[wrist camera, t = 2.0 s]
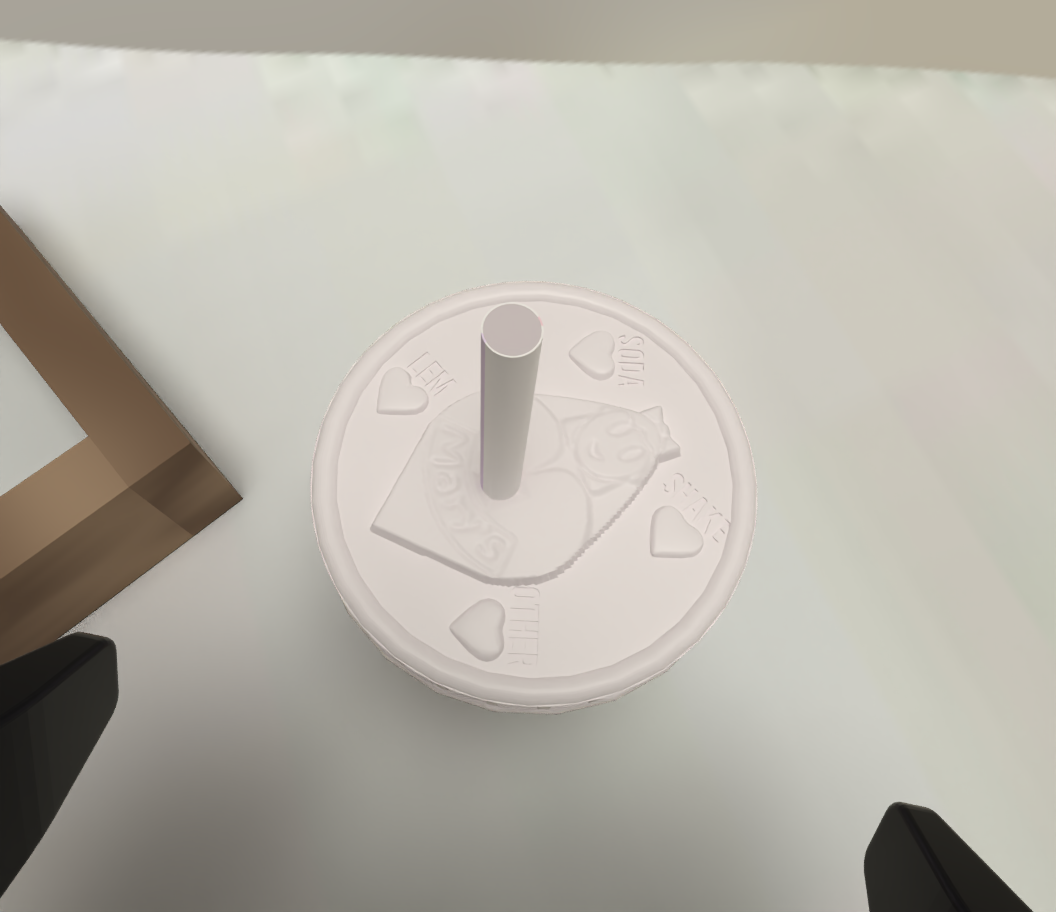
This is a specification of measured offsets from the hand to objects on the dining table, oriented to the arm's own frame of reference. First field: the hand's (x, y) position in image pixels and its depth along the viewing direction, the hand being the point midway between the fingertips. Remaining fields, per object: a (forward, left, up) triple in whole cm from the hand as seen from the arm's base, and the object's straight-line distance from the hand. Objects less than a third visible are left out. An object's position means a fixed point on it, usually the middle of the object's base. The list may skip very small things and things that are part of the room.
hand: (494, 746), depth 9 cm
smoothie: (+3, +2, -11) cm, 11 cm away
